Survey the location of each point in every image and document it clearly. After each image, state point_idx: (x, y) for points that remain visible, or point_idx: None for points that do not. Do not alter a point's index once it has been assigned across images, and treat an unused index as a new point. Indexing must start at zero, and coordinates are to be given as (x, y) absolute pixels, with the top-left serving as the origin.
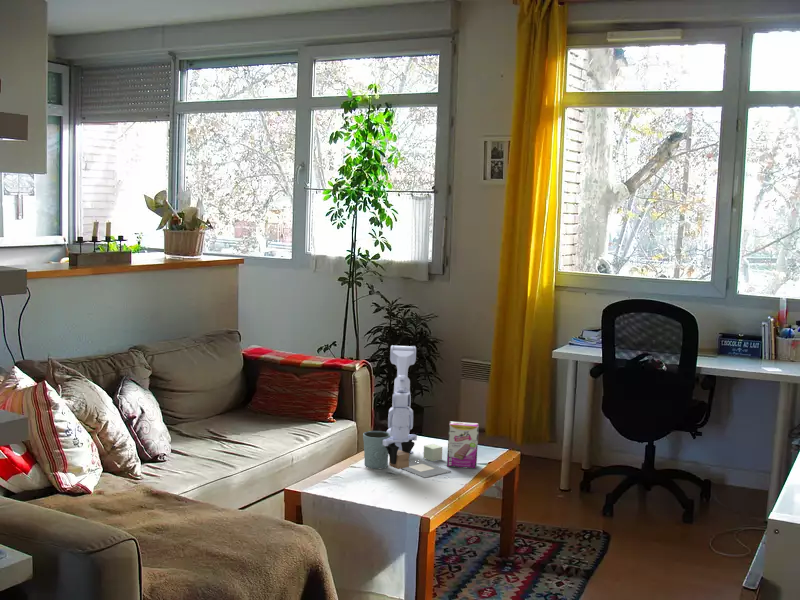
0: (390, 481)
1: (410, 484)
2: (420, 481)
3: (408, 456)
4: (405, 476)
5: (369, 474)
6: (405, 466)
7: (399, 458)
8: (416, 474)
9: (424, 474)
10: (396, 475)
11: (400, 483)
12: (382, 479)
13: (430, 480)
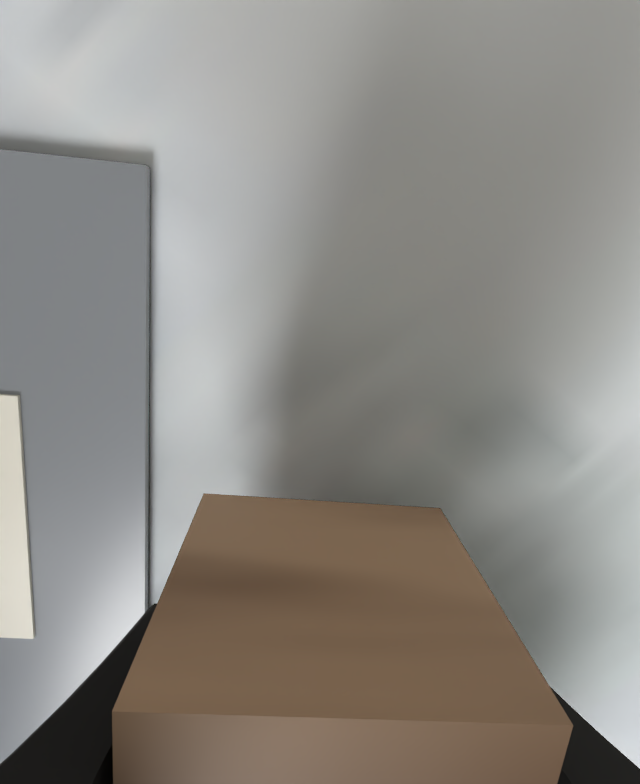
0: (631, 379)
1: (545, 91)
2: (318, 90)
3: (169, 633)
4: (322, 405)
5: (588, 695)
6: (277, 507)
7: (491, 645)
8: (146, 358)
9: (50, 269)
10: (384, 503)
11: (609, 229)
12: (634, 494)
13: (147, 8)
